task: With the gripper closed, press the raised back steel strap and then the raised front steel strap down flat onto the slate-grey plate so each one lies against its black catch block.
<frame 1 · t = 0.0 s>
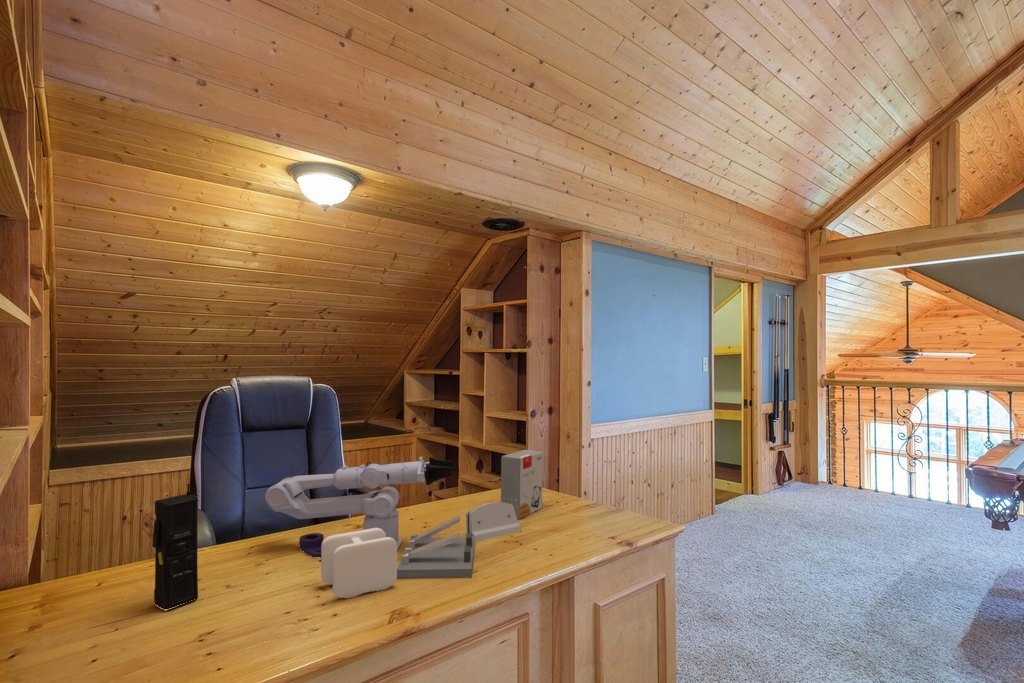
hand: (453, 468, 149), 22 cm above the table, tool horizontal, fingers open, 7 cm apart
base plate: (438, 559, 138), on the table
front strap: (431, 546, 133), point 5 cm above the table, hinge at 20.0°
hard drive box: (522, 513, 179), on the table
portable radio: (173, 604, 114), on the table
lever: (314, 552, 145), on the table
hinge: (492, 534, 159), on the table
cable organizer: (358, 587, 123), on the table
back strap: (435, 530, 143), point 6 cm above the table, hinge at 26.0°
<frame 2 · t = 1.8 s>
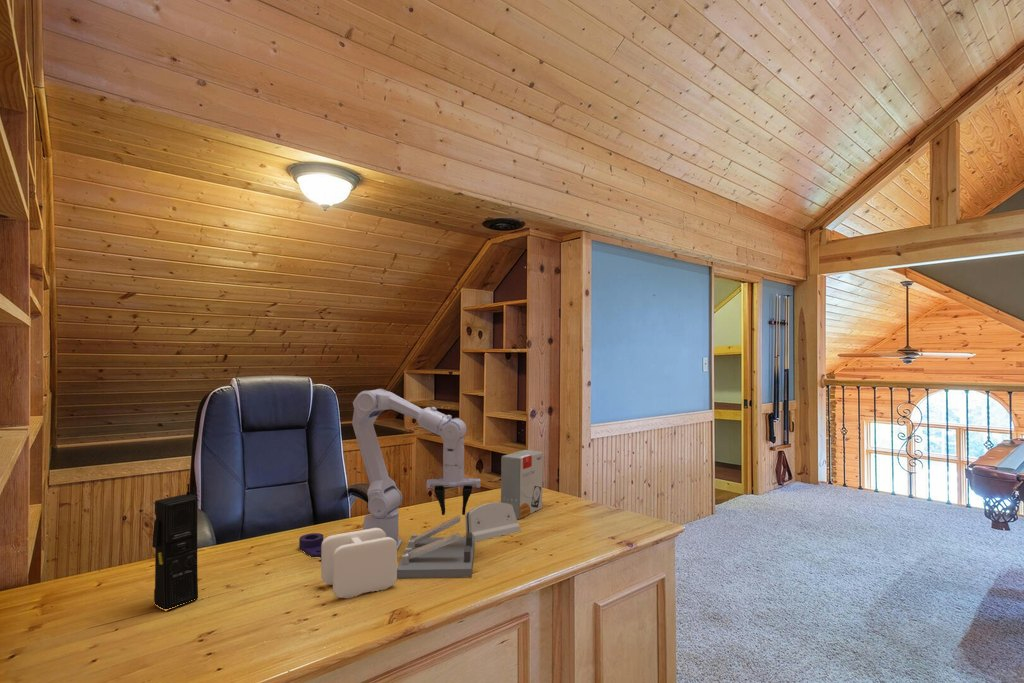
hand: (453, 513, 143), 10 cm above the table, tool pointing down, fingers open, 5 cm apart
nothing on the table moved.
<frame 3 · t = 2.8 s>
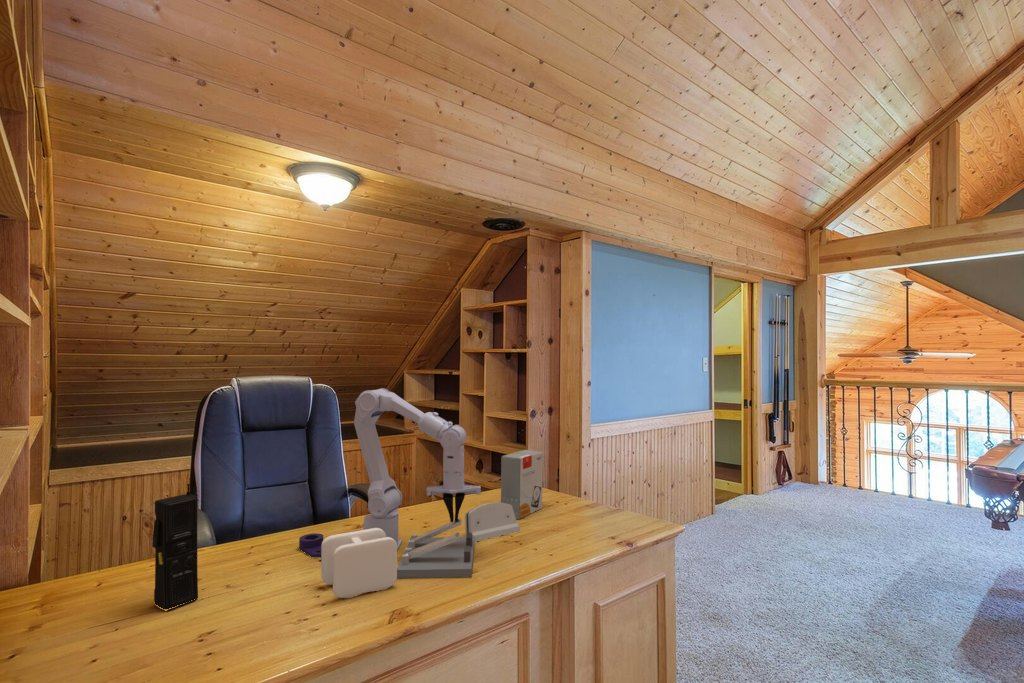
hand: (454, 521, 143), 8 cm above the table, tool pointing down, fingers closed
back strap: (435, 531, 143), point 6 cm above the table, hinge at 22.7°, touching gripper
everything else where it was.
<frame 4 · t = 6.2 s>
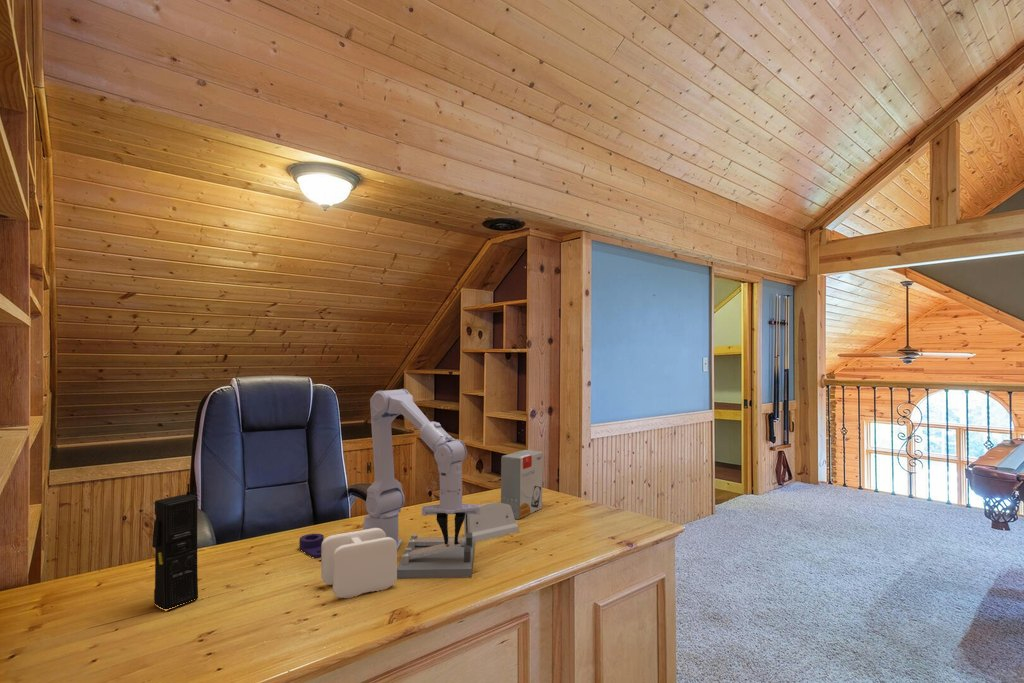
hand: (451, 543, 133), 6 cm above the table, tool pointing down, fingers closed
front strap: (432, 550, 133), point 4 cm above the table, hinge at 12.2°, touching gripper
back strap: (437, 541, 143), point 3 cm above the table, hinge at -0.6°
everything else where it was.
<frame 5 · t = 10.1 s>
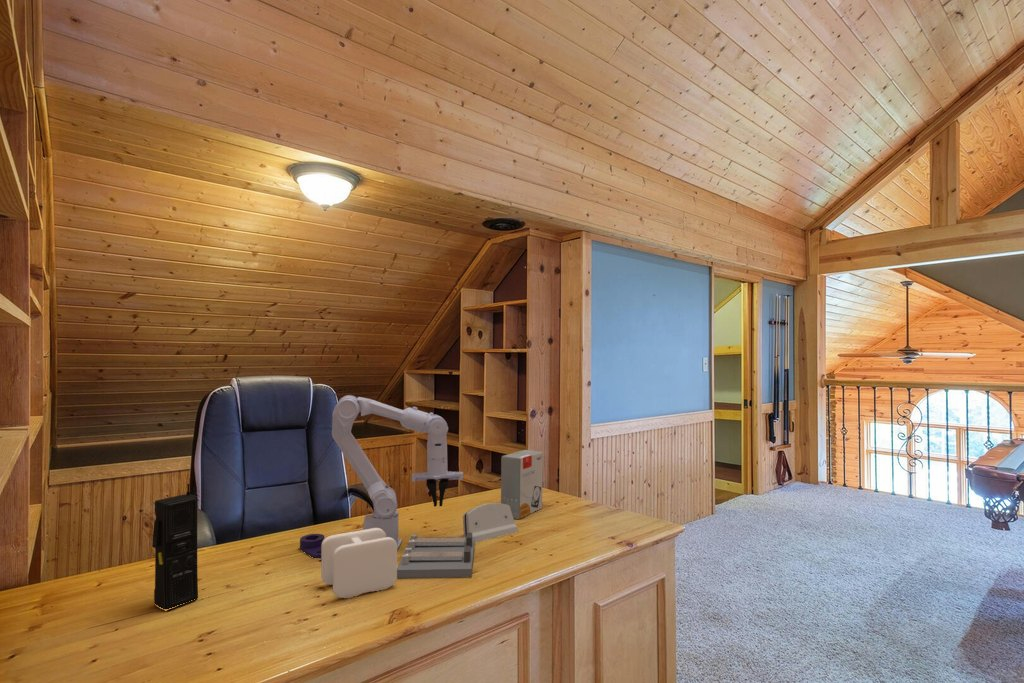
hand: (438, 505, 151), 10 cm above the table, tool pointing down, fingers closed
front strap: (433, 556, 133), point 3 cm above the table, hinge at -0.7°
at the end: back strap at -1° (first picture: +26°); front strap at -1° (first picture: +20°) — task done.
